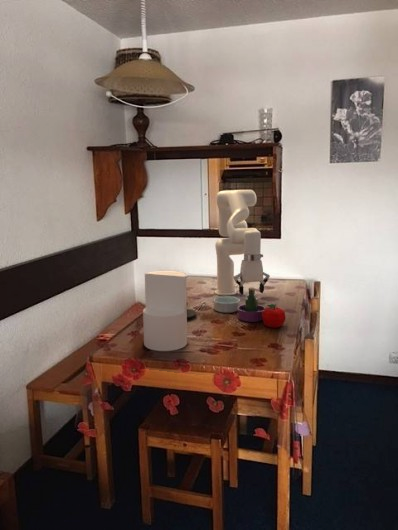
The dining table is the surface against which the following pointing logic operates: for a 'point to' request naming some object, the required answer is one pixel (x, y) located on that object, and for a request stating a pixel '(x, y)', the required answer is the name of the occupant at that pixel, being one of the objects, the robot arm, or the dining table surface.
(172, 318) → the cylinder
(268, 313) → the apple
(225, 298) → the pale bowl
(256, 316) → the plum bowl
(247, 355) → the dining table surface
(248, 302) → the bottle
